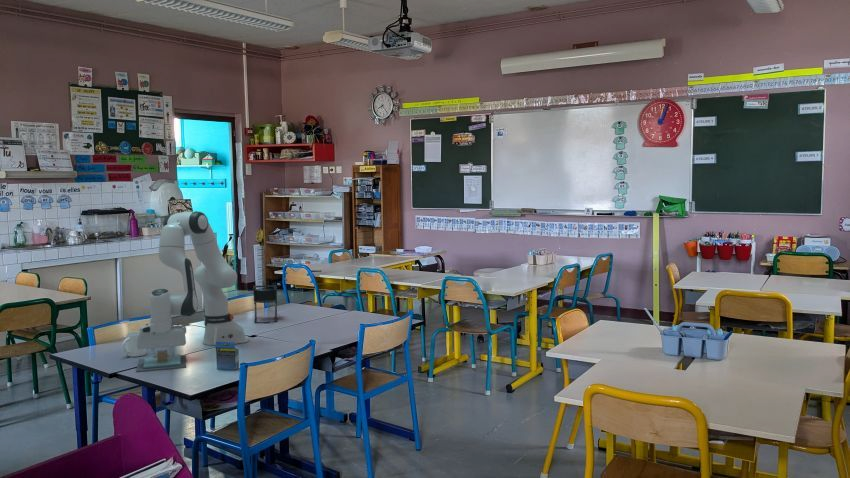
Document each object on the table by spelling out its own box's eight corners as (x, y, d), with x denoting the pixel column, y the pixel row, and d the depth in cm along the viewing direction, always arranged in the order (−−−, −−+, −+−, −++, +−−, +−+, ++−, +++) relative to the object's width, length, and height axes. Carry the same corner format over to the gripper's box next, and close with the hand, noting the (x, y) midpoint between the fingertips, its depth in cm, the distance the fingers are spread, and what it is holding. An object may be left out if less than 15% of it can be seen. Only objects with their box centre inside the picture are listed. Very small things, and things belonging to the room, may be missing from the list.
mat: (186, 356, 306) (186, 355, 306) (186, 367, 287) (186, 366, 287) (139, 360, 299) (139, 359, 299) (136, 372, 280) (136, 371, 280)
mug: (128, 359, 300) (127, 337, 299) (116, 357, 304) (115, 335, 303) (150, 353, 311) (149, 332, 310) (138, 351, 315) (137, 330, 314)
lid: (180, 356, 303) (180, 346, 302) (180, 364, 289) (180, 354, 288) (145, 359, 298) (144, 349, 297) (143, 368, 284) (142, 357, 283)
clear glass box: (254, 324, 375) (253, 285, 374) (254, 318, 392) (253, 281, 390) (277, 323, 378) (276, 285, 376) (277, 317, 395) (276, 280, 393)
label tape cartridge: (239, 368, 287) (238, 340, 286) (235, 370, 283) (234, 342, 282) (220, 367, 288) (219, 339, 287) (216, 369, 284) (215, 341, 283)
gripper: (186, 322, 298) (187, 352, 300) (136, 326, 291) (138, 357, 293) (186, 325, 292) (187, 356, 294) (135, 329, 285) (137, 360, 287)
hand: (162, 356), depth 293 cm, fingers closed on lid, 4 cm apart
